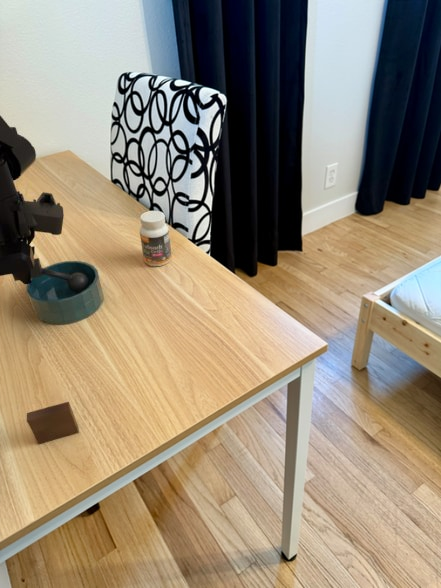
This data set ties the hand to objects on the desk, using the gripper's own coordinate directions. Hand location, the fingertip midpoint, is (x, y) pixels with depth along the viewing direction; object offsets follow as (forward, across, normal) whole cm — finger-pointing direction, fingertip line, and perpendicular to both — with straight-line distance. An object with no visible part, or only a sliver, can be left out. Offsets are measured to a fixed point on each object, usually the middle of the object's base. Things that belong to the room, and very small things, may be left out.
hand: (28, 279), depth 73 cm
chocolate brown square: (+6, -29, -2) cm, 30 cm away
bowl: (+6, -1, -5) cm, 8 cm away
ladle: (+4, 0, -4) cm, 6 cm away
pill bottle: (+6, +7, -23) cm, 25 cm away
